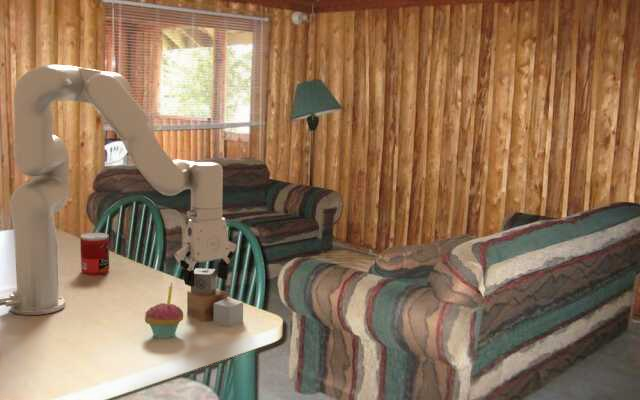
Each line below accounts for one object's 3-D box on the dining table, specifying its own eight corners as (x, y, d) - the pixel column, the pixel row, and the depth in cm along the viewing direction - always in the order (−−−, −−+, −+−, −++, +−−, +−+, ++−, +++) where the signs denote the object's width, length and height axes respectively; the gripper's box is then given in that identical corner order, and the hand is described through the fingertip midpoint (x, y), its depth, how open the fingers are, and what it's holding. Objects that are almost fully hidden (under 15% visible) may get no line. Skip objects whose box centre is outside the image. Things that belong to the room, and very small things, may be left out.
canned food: (104, 276, 201) (103, 239, 199) (77, 274, 201) (76, 237, 199) (113, 268, 208) (112, 233, 206) (86, 267, 208) (85, 232, 206)
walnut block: (203, 322, 167) (204, 298, 166) (187, 314, 172) (187, 291, 171) (227, 315, 172) (227, 292, 171) (210, 308, 177) (210, 286, 176)
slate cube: (229, 327, 164) (229, 307, 163) (213, 323, 167) (213, 303, 166) (242, 321, 168) (243, 302, 167) (226, 317, 171) (227, 297, 170)
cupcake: (167, 325, 164) (167, 276, 162) (191, 334, 158) (191, 284, 156) (137, 335, 157) (136, 283, 155) (160, 345, 152) (160, 292, 150)
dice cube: (211, 294, 169) (211, 274, 168) (190, 293, 169) (190, 273, 168) (215, 288, 174) (215, 269, 173) (195, 287, 174) (195, 268, 173)
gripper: (184, 220, 159) (184, 292, 162) (244, 212, 171) (243, 279, 174) (167, 214, 165) (167, 284, 168) (226, 207, 176) (226, 272, 179)
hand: (206, 281), depth 171 cm, fingers open, 9 cm apart
